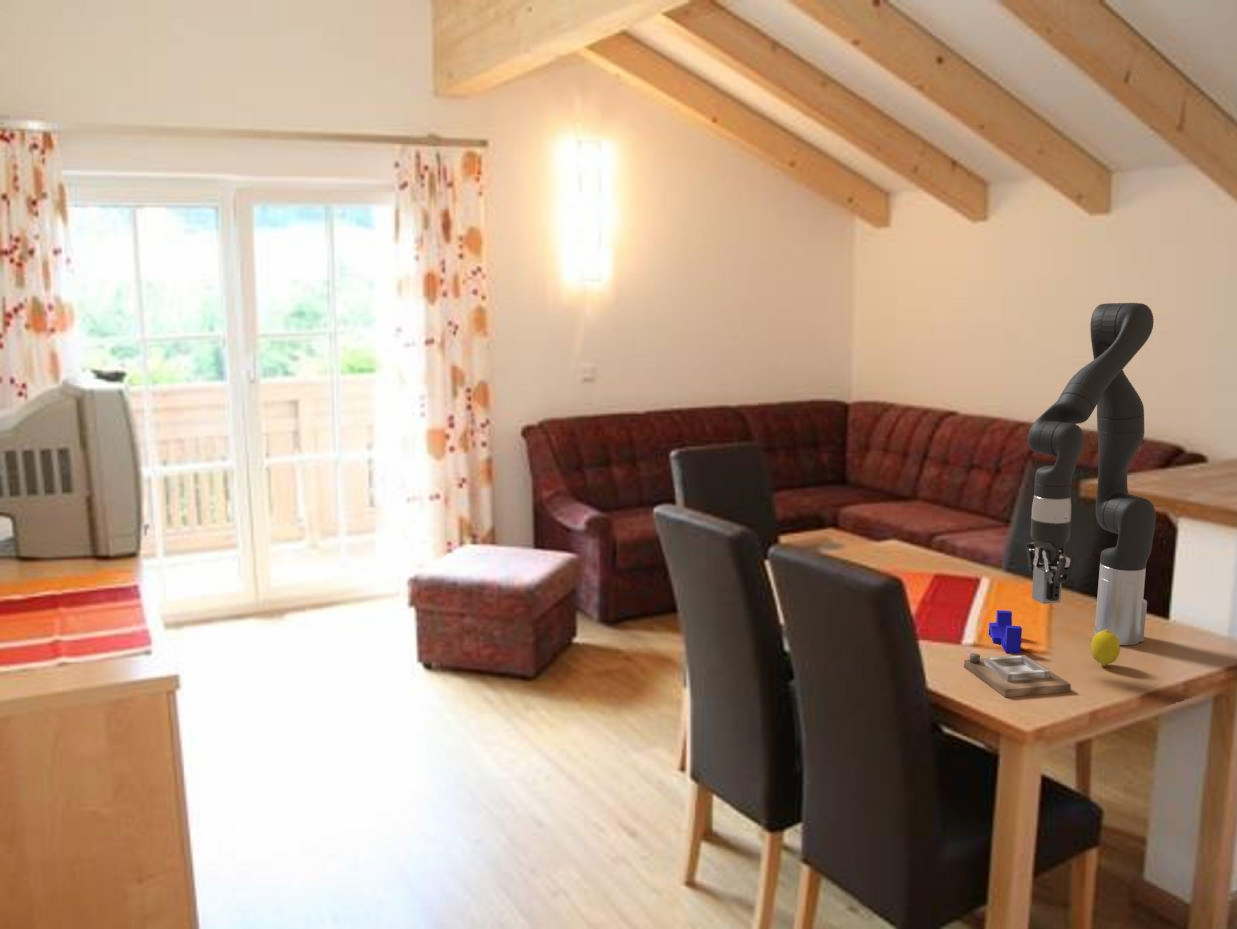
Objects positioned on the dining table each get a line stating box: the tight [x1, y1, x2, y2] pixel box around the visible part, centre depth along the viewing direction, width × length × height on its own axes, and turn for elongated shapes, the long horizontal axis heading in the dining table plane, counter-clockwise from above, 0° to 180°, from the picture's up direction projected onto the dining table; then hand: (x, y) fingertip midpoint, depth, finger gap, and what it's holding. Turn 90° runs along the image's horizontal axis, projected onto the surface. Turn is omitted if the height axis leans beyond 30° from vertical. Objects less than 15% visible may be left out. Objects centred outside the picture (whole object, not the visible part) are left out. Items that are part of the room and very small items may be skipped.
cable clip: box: [988, 609, 1023, 655], centre depth 228 cm, size 12×4×6 cm, turn 170°
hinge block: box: [1031, 566, 1063, 605], centre depth 213 cm, size 4×4×7 cm
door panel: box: [963, 652, 1072, 698], centre depth 208 cm, size 14×16×3 cm
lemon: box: [1090, 629, 1121, 667], centre depth 214 cm, size 6×6×8 cm
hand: (1046, 596), depth 214 cm, fingers closed on hinge block, 4 cm apart
